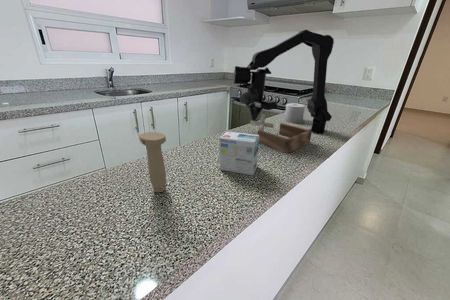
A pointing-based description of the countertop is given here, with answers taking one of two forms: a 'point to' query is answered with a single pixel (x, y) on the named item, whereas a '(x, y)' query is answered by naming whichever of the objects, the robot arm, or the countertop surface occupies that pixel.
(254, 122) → the pipe connector
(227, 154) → the light bulb box
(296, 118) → the toilet tissue
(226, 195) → the countertop surface
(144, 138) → the handle
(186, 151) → the countertop surface
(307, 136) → the walnut bay
